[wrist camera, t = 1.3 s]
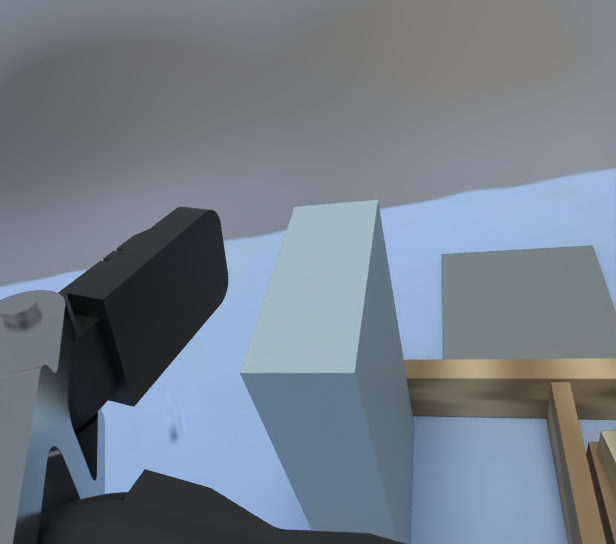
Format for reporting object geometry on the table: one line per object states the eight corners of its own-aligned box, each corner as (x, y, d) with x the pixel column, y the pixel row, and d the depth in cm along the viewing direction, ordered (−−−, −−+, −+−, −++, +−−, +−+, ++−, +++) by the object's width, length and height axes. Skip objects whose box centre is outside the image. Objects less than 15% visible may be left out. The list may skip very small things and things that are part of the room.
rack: (764, 400, 32) (908, 120, 21) (926, 703, 22) (1388, 462, 11) (337, 396, 39) (274, 183, 28) (301, 623, 29) (178, 427, 18)
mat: (591, 251, 45) (592, 245, 45) (630, 365, 36) (631, 359, 36) (442, 259, 48) (441, 254, 48) (444, 366, 39) (443, 360, 39)
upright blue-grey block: (414, 425, 36) (377, 199, 25) (408, 588, 29) (354, 372, 18) (354, 424, 37) (294, 206, 26) (335, 580, 30) (239, 372, 19)
